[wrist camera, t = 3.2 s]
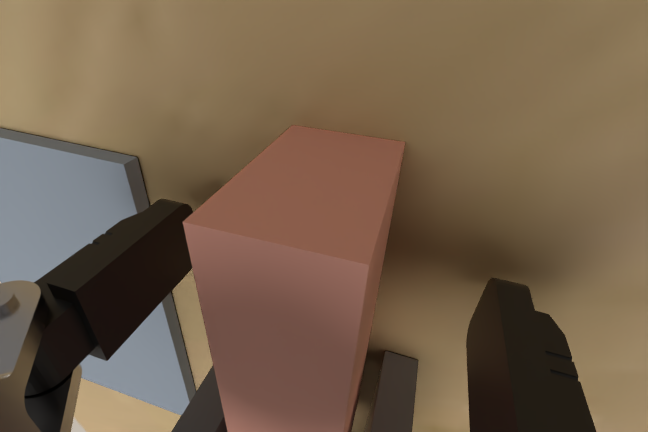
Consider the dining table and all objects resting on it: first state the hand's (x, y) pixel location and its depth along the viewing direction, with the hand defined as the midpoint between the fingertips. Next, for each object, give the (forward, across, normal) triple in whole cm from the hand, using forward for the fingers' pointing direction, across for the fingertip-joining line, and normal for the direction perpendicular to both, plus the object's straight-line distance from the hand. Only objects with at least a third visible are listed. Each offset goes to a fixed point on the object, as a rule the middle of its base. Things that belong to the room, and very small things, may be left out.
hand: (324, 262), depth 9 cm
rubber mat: (+2, +12, +7) cm, 14 cm away
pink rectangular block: (+2, 0, +3) cm, 4 cm away
